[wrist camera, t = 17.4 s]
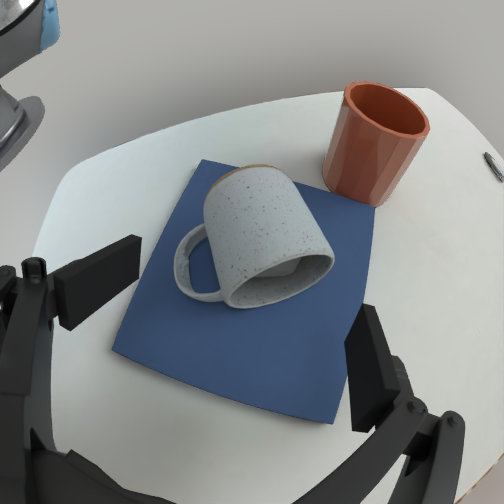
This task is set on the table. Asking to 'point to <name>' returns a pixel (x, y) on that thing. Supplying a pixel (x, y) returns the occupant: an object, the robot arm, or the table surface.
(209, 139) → the table surface
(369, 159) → the clay cup
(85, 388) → the table surface
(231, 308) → the blue mat
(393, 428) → the robot arm
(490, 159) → the oval pebble
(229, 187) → the ceramic mug
